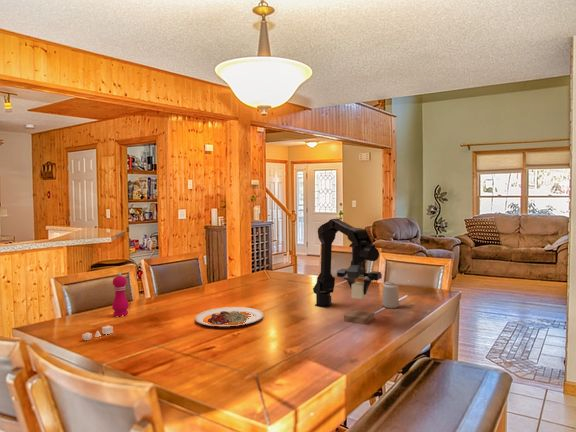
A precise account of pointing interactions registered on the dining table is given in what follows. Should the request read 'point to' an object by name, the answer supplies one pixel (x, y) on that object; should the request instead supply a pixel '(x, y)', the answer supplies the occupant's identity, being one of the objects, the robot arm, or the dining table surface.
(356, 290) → the block
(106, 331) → the game pieces
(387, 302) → the can
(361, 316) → the plinth
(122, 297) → the pepper mill
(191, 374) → the dining table surface
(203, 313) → the plated food
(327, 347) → the dining table surface
